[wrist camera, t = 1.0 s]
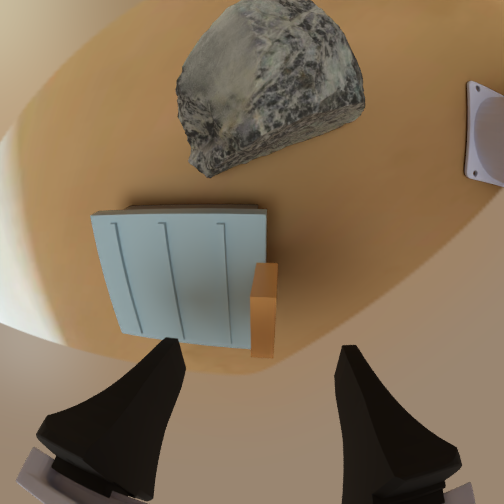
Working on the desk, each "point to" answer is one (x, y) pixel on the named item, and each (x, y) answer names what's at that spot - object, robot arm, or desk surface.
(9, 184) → the desk surface
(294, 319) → the desk surface
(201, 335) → the lid
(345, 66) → the stone
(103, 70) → the desk surface
